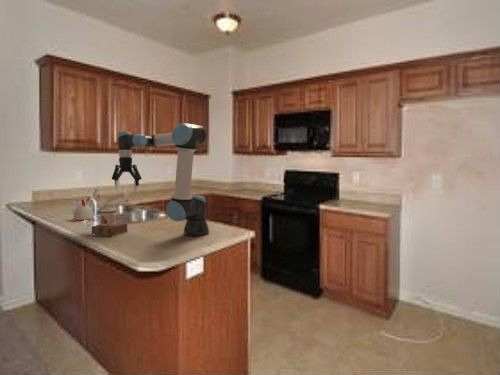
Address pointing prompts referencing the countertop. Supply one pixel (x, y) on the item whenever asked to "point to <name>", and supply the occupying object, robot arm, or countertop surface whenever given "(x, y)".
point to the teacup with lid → (107, 216)
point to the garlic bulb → (83, 212)
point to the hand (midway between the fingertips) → (127, 191)
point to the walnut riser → (109, 229)
